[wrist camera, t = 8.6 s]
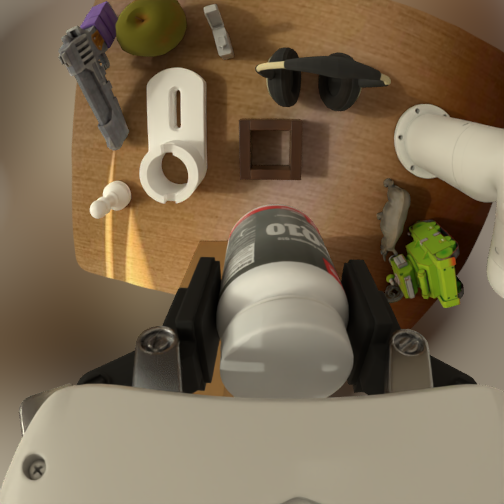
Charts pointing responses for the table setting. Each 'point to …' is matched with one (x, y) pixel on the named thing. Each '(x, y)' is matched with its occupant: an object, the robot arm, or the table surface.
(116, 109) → the handgun
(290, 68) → the headphones
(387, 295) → the corroded twin loop
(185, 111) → the bracket
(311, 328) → the pill bottle
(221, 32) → the grey angled piece
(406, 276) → the lime green boxy piece
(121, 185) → the chess pawn
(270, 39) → the table surface
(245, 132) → the holder
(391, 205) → the rhino figurine
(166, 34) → the apple
